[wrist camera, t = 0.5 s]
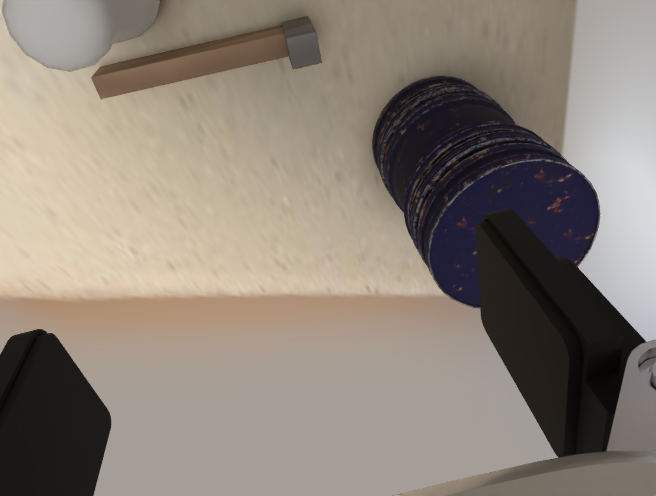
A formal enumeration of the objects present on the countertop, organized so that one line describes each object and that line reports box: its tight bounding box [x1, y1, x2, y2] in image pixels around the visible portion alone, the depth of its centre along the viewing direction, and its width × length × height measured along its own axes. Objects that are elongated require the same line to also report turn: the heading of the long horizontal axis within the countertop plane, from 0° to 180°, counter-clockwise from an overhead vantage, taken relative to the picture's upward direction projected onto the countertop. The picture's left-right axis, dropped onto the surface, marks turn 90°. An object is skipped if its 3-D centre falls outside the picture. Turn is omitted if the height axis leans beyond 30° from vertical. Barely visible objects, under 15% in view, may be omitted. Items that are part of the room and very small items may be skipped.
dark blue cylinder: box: [373, 76, 600, 308], centre depth 35 cm, size 10×10×15 cm
